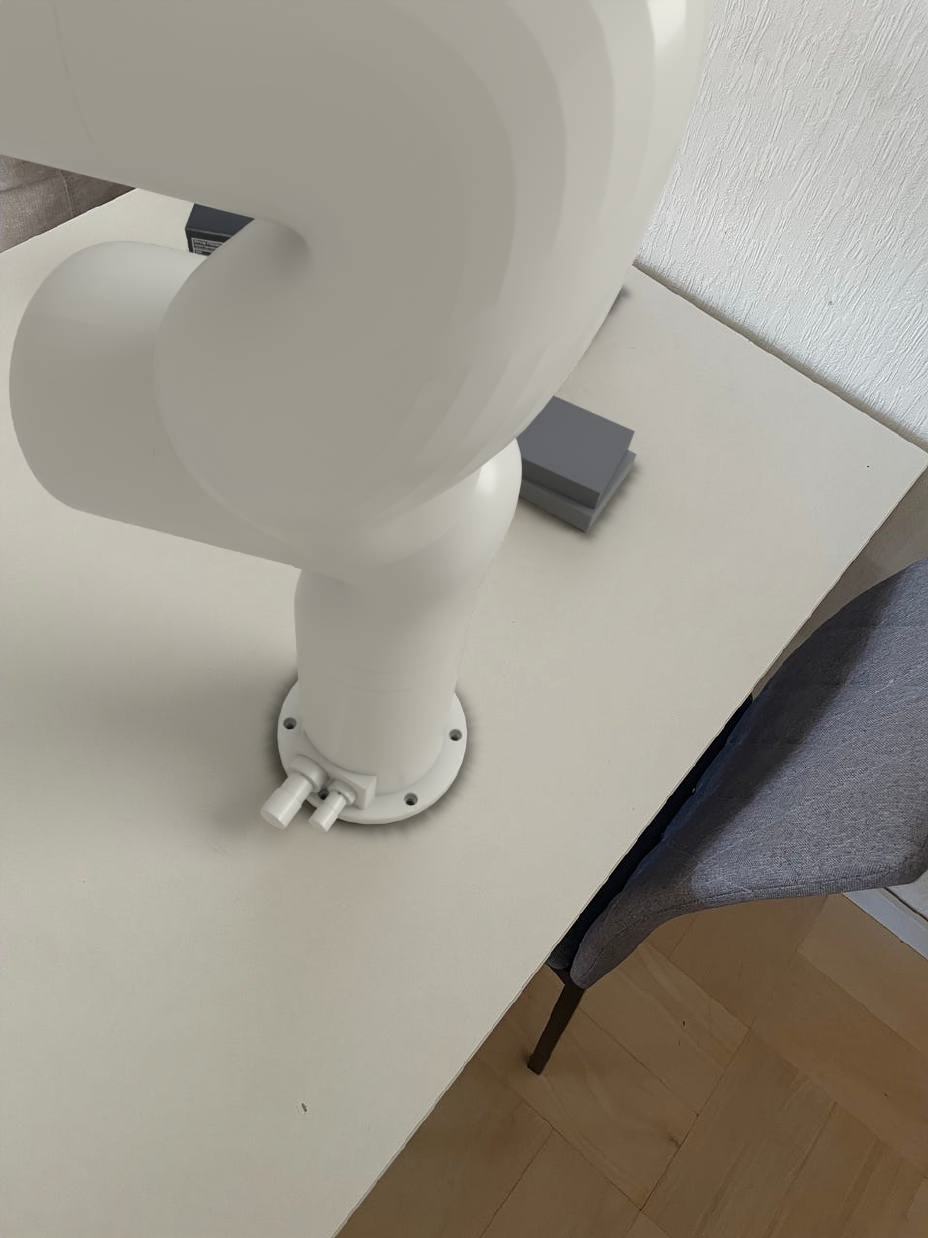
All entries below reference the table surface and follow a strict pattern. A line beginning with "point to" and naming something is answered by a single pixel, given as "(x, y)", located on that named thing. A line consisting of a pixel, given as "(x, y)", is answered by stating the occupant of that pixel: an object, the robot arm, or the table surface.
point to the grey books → (573, 461)
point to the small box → (211, 228)
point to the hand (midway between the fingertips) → (535, 49)
